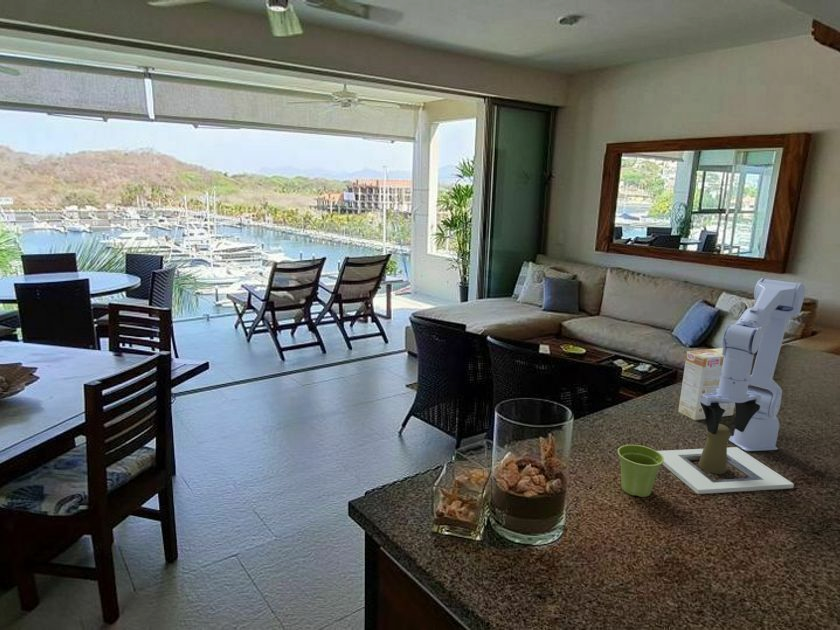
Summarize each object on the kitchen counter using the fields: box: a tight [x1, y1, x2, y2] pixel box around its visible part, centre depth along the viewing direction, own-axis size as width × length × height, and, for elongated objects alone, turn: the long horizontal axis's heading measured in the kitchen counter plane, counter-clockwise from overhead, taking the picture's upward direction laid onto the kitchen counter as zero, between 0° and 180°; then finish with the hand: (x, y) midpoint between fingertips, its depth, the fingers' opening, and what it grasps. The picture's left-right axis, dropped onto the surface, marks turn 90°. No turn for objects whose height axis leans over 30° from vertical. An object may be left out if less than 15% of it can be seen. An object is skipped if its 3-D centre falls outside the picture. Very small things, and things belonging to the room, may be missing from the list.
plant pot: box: [617, 444, 664, 498], centre depth 118 cm, size 9×9×9 cm
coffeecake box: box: [677, 347, 735, 421], centre depth 161 cm, size 15×7×20 cm, turn 108°
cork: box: [698, 423, 732, 475], centre depth 129 cm, size 6×6×11 cm
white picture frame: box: [656, 446, 795, 495], centre depth 129 cm, size 24×18×1 cm
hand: (725, 431), depth 127 cm, fingers open, 7 cm apart
